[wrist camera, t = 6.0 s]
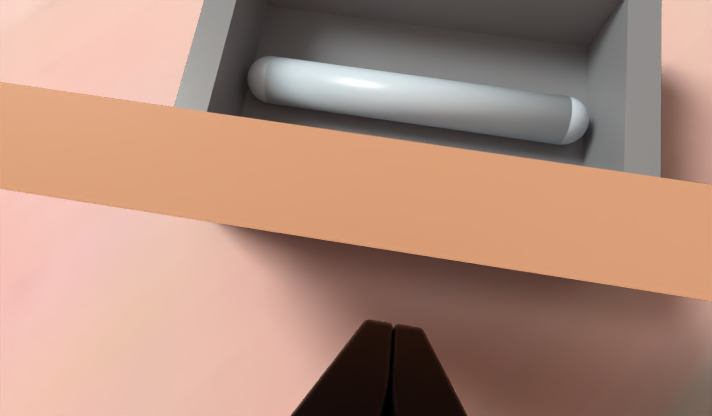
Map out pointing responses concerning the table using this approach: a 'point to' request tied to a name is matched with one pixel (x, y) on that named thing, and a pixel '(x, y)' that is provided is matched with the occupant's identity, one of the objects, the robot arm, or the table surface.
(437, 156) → the duct cover
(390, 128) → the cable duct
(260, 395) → the table surface
